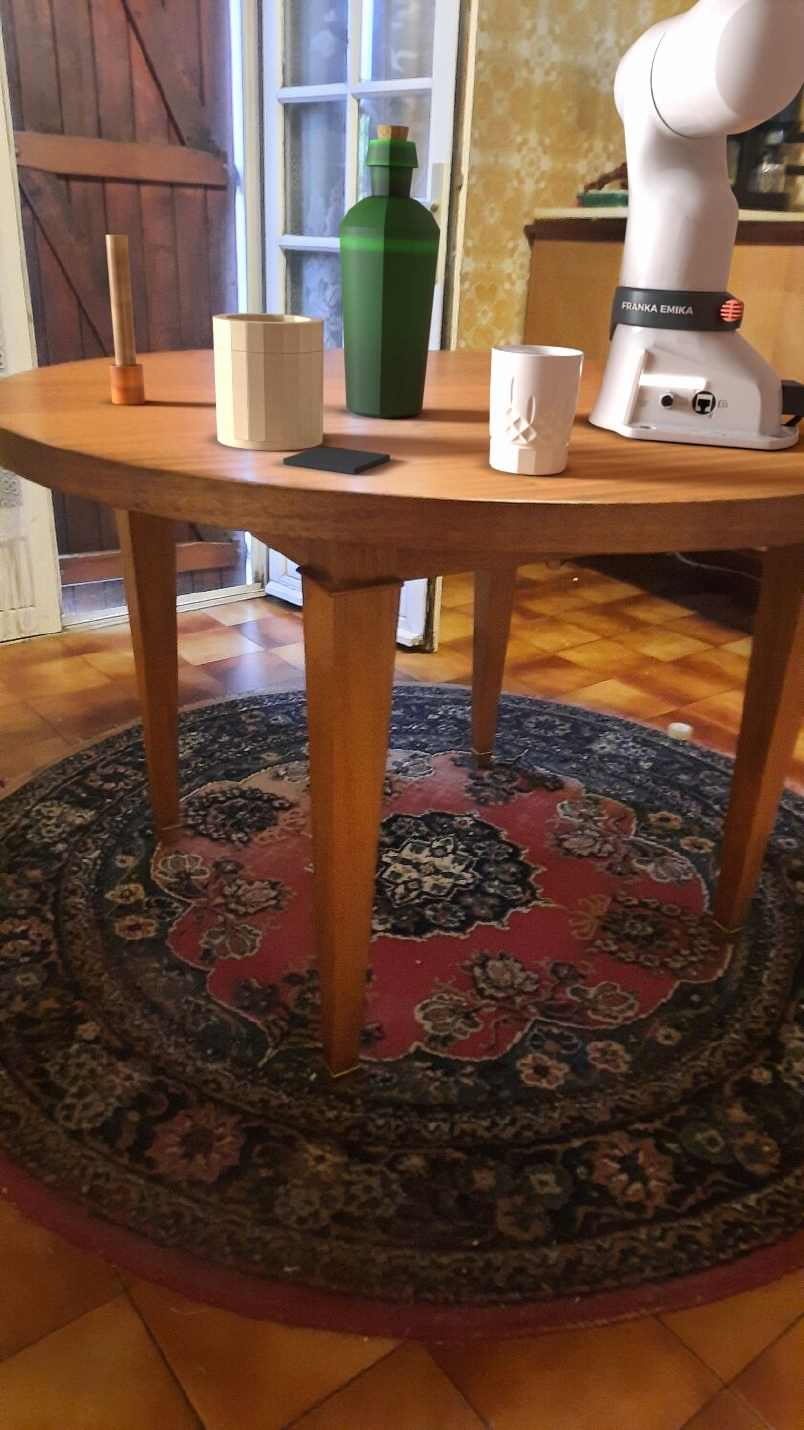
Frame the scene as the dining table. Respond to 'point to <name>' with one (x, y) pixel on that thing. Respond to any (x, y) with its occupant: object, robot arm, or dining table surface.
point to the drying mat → (337, 459)
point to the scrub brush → (123, 327)
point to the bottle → (388, 284)
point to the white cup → (532, 407)
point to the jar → (269, 380)
